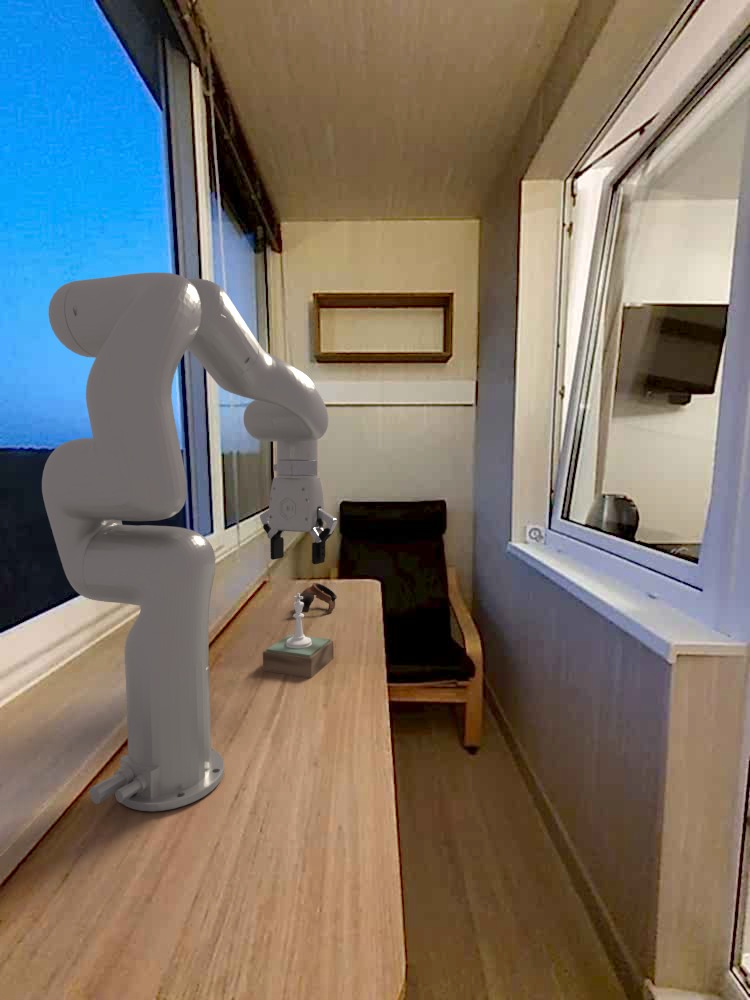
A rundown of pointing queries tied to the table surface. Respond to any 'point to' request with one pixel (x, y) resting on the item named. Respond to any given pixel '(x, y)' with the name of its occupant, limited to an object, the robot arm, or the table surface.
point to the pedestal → (298, 657)
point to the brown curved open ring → (318, 596)
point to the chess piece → (298, 628)
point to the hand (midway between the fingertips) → (297, 560)
